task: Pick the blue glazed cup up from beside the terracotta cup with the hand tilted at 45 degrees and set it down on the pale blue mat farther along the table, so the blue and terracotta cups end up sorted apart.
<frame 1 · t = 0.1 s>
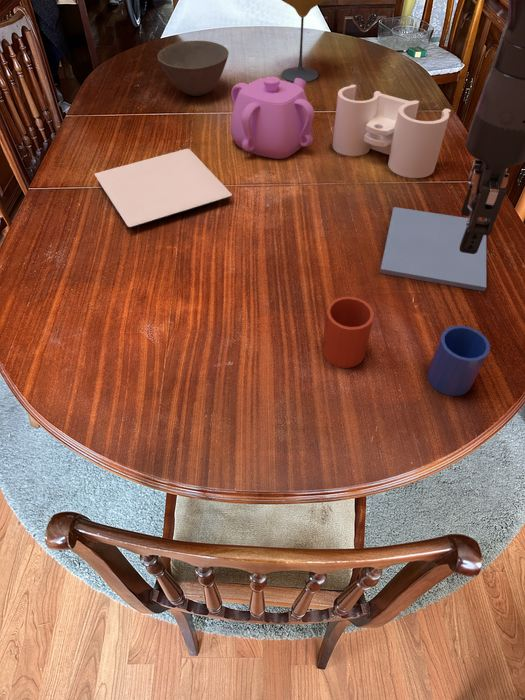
hand: (468, 232, 68), 18 cm above the table, tool pointing down, fingers open, 8 cm apart
bowl: (196, 93, 141), on the table
bracket: (381, 157, 117), on the table
cocktail glass: (299, 75, 148), on the table
blue cup: (449, 378, 75), on the table
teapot: (275, 139, 123), on the table
plate: (162, 192, 108), on the table
blue mat: (434, 248, 95), on the table
terracotta cup: (343, 351, 79), on the table
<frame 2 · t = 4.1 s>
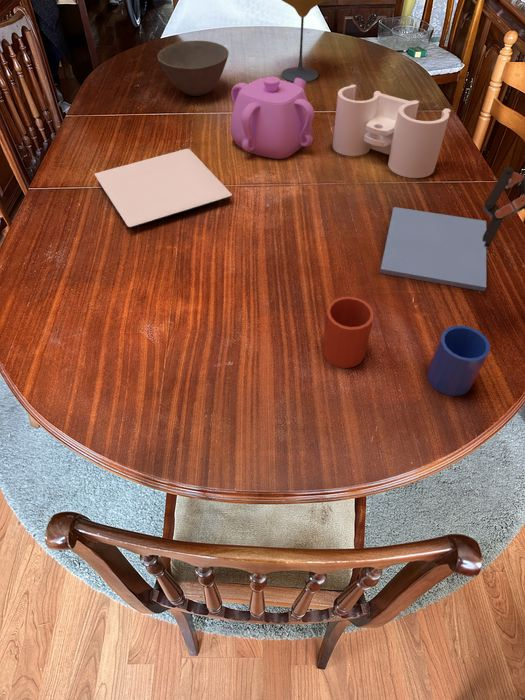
hand: (517, 258, 69), 15 cm above the table, tool tilted 45°, fingers open, 8 cm apart
nothing on the table moved.
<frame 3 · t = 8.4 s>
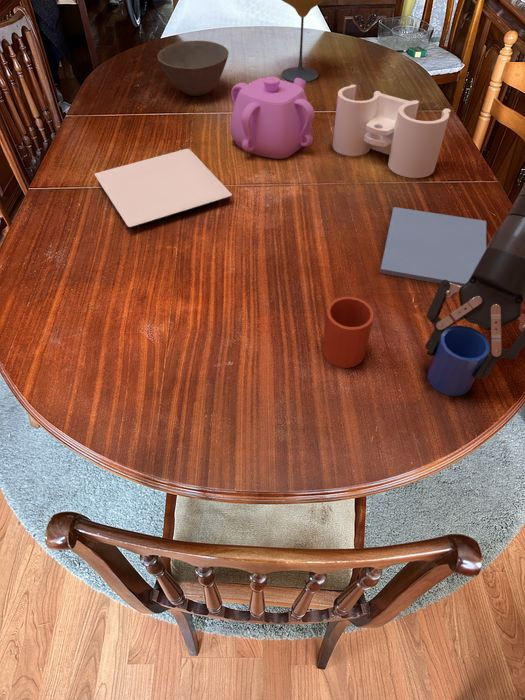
hand: (452, 366, 71), 4 cm above the table, tool tilted 45°, fingers closed on blue cup, 6 cm apart
blue cup: (449, 378, 75), on the table, touching gripper
everything else where it was.
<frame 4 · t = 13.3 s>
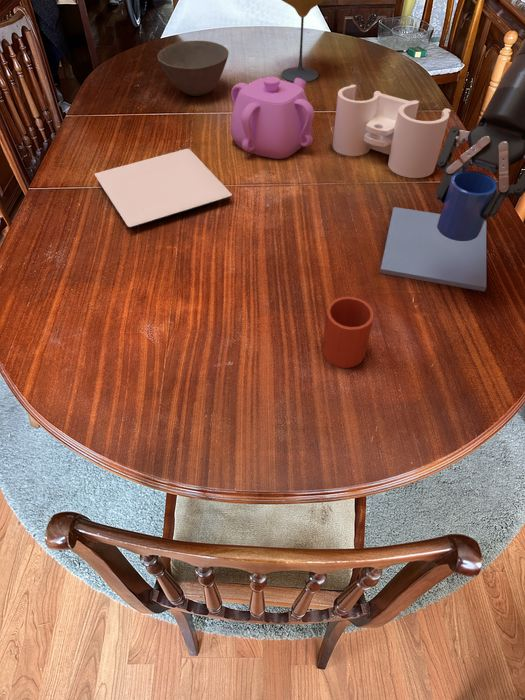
hand: (462, 209, 75), 17 cm above the table, tool tilted 45°, fingers closed on blue cup, 6 cm apart
blue cup: (458, 228, 79), point 12 cm above the table, touching gripper
everything else where it was.
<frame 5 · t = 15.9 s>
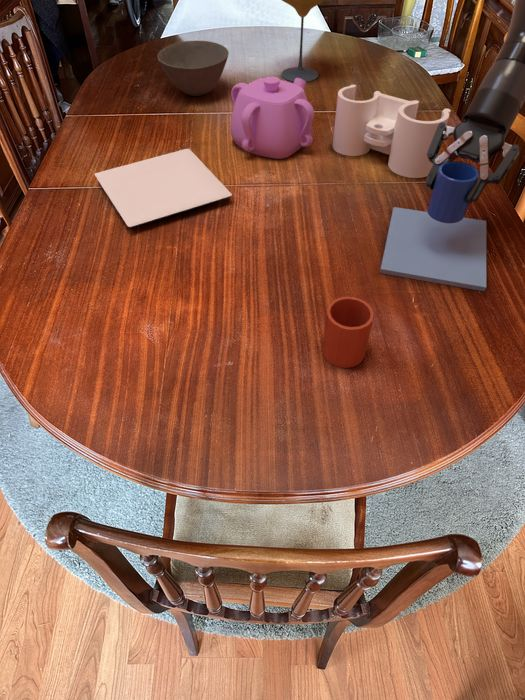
hand: (448, 195, 85), 12 cm above the table, tool tilted 45°, fingers closed on blue cup, 6 cm apart
blue cup: (445, 212, 89), point 8 cm above the table, touching gripper
everything else where it was.
when the fingers open (5 cm above the table, at t = 18.3 s): blue cup stays where it is, resting on blue mat.
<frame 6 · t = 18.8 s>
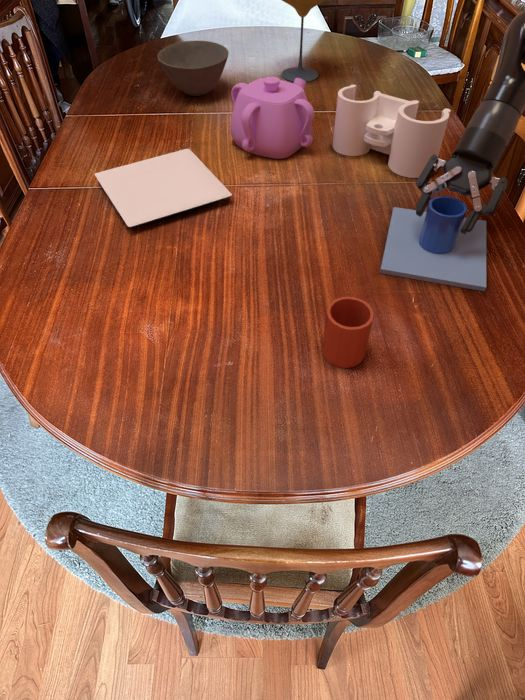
hand: (440, 223, 90), 6 cm above the table, tool tilted 45°, fingers open, 8 cm apart
blue cup: (436, 243, 94), point 1 cm above the table, touching blue mat
everything else where it was.
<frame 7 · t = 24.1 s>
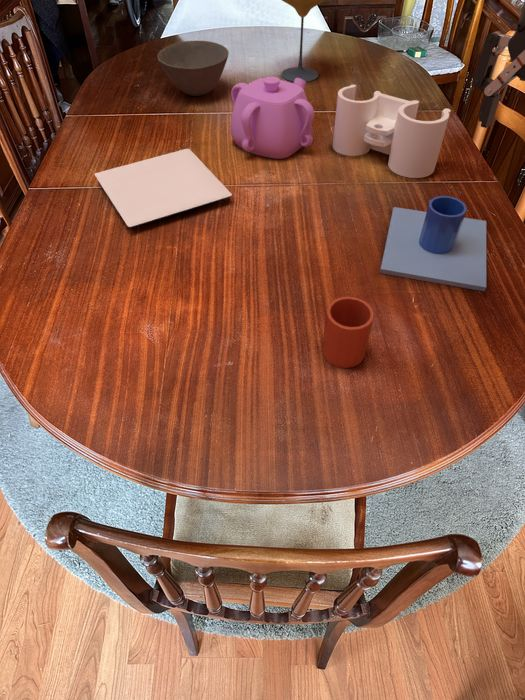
hand: (518, 134, 64), 29 cm above the table, tool pointing down, fingers open, 8 cm apart
nothing on the table moved.
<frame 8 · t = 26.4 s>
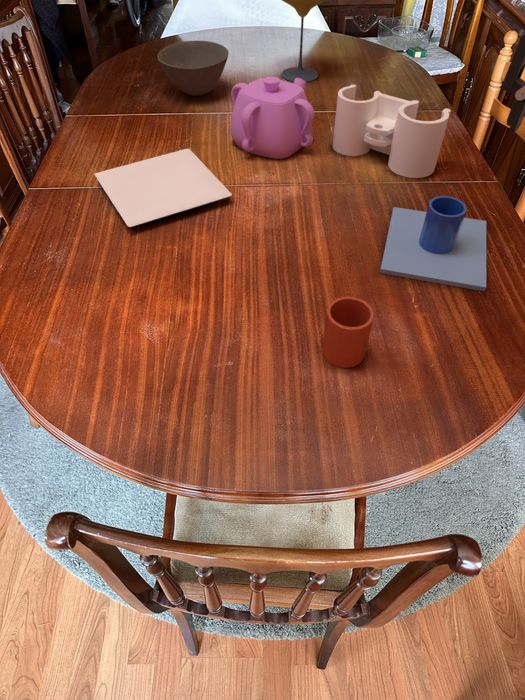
nothing on the table moved.
at the end: blue cup inside the target area on the blue mat (0.1 cm from its centre), point 1.0 cm above the blue mat's base; blue cup tilted 0°; terracotta cup moved 0.0 cm from its start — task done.
